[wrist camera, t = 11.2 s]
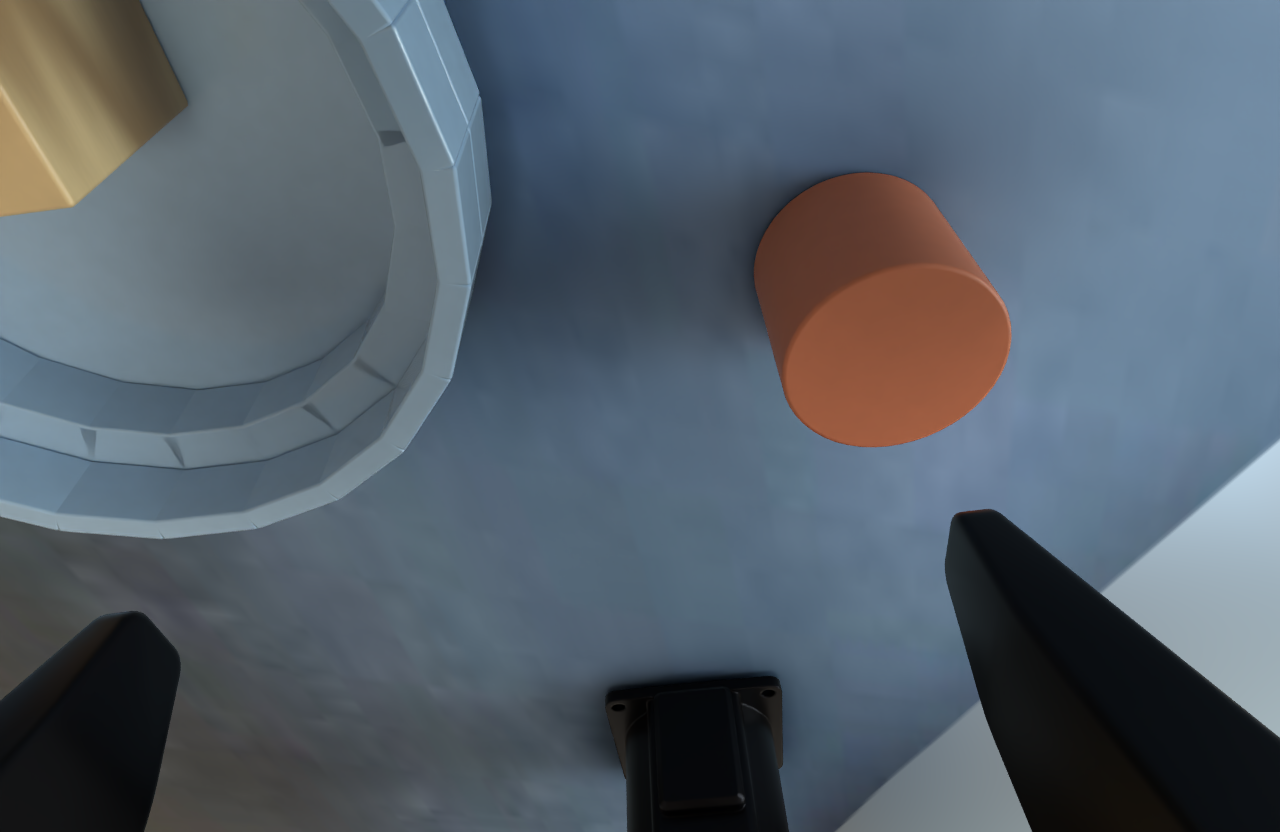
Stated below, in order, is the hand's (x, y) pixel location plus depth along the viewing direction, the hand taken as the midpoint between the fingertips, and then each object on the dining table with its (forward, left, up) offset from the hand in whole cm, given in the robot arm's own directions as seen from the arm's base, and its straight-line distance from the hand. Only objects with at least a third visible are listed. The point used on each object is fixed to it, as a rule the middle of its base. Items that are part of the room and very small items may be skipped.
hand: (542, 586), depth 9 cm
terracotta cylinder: (-3, -6, -11) cm, 13 cm away
